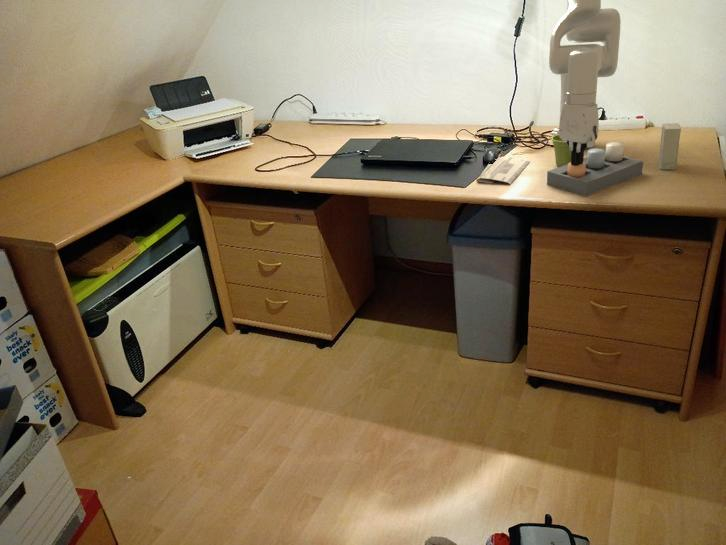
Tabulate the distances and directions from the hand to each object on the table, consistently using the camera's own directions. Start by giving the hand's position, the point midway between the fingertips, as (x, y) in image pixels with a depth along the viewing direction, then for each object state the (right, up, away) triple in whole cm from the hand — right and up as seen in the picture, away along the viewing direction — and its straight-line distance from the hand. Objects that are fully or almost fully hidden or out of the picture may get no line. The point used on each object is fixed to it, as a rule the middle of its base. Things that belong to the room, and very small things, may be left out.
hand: (576, 164), depth 171 cm
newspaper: (-17, 0, +21) cm, 27 cm away
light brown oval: (0, -4, +2) cm, 4 cm away
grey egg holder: (+8, -3, +7) cm, 11 cm away
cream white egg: (+14, +3, +8) cm, 16 cm away
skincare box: (+30, +1, +10) cm, 32 cm away
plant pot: (+4, +3, +21) cm, 21 cm away
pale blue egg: (+7, +1, +5) cm, 9 cm away
